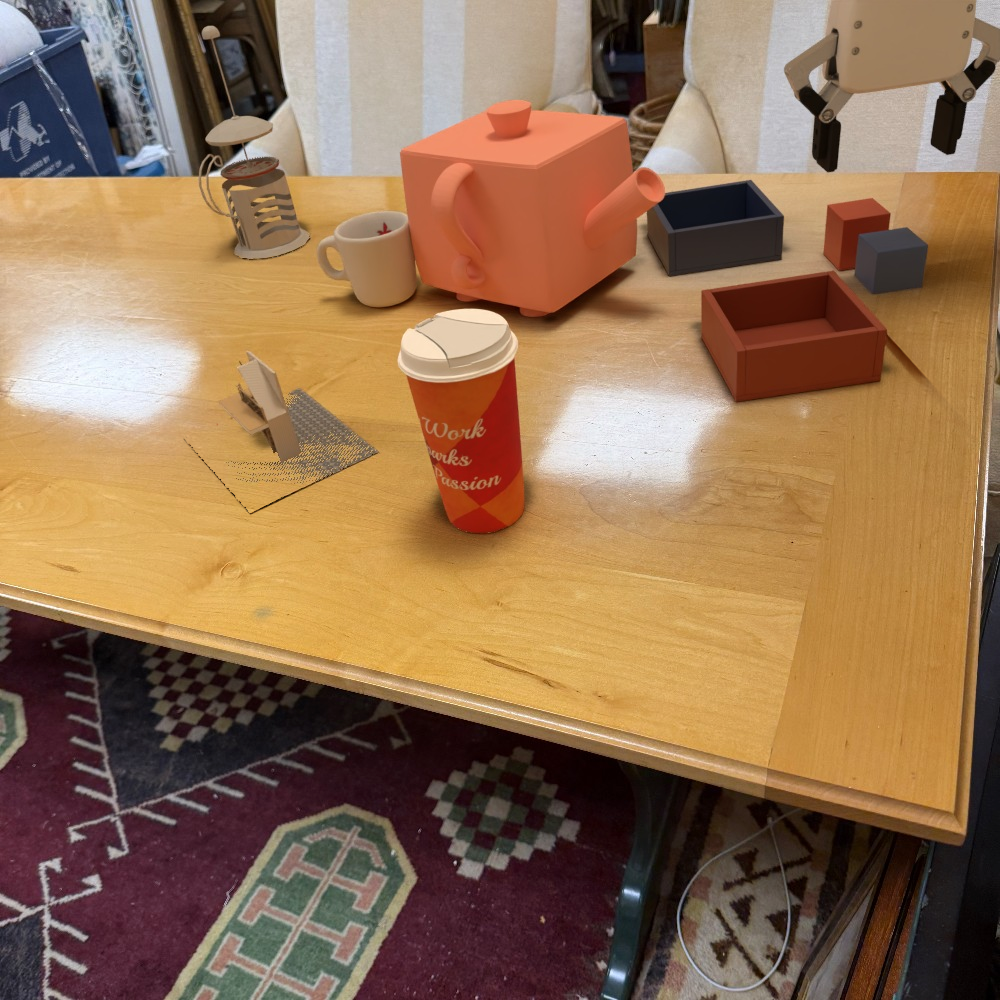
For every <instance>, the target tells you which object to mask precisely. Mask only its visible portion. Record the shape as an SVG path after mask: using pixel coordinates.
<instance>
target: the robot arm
mask: <svg viewBox="0 0 1000 1000" xmlns="http://www.w3.org/2000/svg"><path fill="white" fill-rule="evenodd" d="M976 10H977V0H831V1H830V6H829V12H828V18H827V23H826V31H825V37H823V38H822V39H821V40H819V41H817V42H816V43H815V44H813V45H812V46H810V47H808V48H807V49H805V50H804V51H803V52H801V53H800V54H799V55H796V57H794V58H792V60H790V61H788V62H787V63H786V64H785V65H784V67H783V72H784V75H785V77H786V80H787V81H788V84H789V86H790V88H791V90H792V92H793V95H794V97H795V99H796V100H797V101H798V102H799V103H800V104H801V105H802V106H803V107H804V108H805V109H806V110H807V111H808V112H809V113H810V114H812V115H813V131H812V142H811V143H812V144H811V156H812V158H813V160H814V161H816V164H817V165H818V166H819V167H821V169H823V170H824V171H825V172H826V173H833V172H836V170H838V165H839V154H840V143H841V133H842V123H841V121H840V120H838V119H837V116H838V114H839V113H840V112H841V110H842V109H843V108H844V107H845V105H846V104H847V103H848V102H849V101H850V100H851V98H852V97H853V96H854V95H857V94H868V93H875V92H882V91H889V90H896V89H903V88H909V87H917V86H922V85H929V84H936V83H939V85H940V86H941V87H942V89H943V90H944V92H943V94H939V95H938V98H937V99H936V101H935V102H936V103H935V109H934V115H933V121H932V129H931V136H930V141H929V142H930V145H931V147H933V148H935V149H936V150H938V151H939V152H941V153H942V154H945V155H946V156H950V155H955V154H956V152H957V144H958V140H960V139H961V138H962V135H963V130H964V125H965V118H966V112H967V106H968V103H970V102H971V101H973V100H974V99H975V97H976V95H977V91H978V90H979V89H980V88H981V87H982V86H983V85H984V84H985V83H986V82H987V80H989V79H990V78H991V77H992V75H993V74H994V73H995V71H996V66H997V64H998V63H999V62H1000V28H999V27H997V26H994V24H993V25H992V24H990V23H988V22H986V21H984V20H982V19H980V18H977V17H976ZM973 39H974V40H977V41H979V42H981V44H982V45H981V46H982V47H981V50H980V51H979V53H978V54H979V55H978V56H977V57H976V58H974V60H972V61H971V62H970V63H969V65H968V61H969V59H970V53H971V48H972V43H973V42H972V41H973ZM821 65H822V67H821V71H822V77H823V78H824V79H825V80H826V81H827V82H826V83H825V84H824V86H823V87H822V88H821V90H819V92H817V91H816V90H815V89H814V88H813V86H812V83H811V80H810V75H811V72H812V71H814V70H815V69H817V68H819V67H820V66H821ZM967 65H968V66H967Z"/></svg>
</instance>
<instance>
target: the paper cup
mask: <svg viewBox="0 0 1000 1000" xmlns="http://www.w3.org/2000/svg"><path fill="white" fill-rule="evenodd" d="M518 349H519V340H518V337H517V336H516V334H515V333H514V332H513V331H512V330H511V328H510V325H509V323H508V321H507V320H506V319H505V318H504V317H503V316H502V315H500V314H499V313H497V312H494V311H491V310H488V309H481V308H459V309H452V310H447V311H442V312H441V311H440V312H438V313H434V315H433V318H431V317H428V318H426V319H423V320H422V321H421V322H418V323H416V324H415V325H414V328H411V327H409V328H407V329H406V331H404V334H403V335H402V337H401V340H400V350H399V352H398V356H397V365H398V368H399V369H400V371H401V372H402V373H403V374H404V375H406V380H407V383H408V387H409V390H410V393H411V397H412V401H413V403H414V407H415V410H416V414H417V418H418V421H419V425H420V429H421V432H422V435H423V439H424V442H425V446H426V449H427V453H428V456H429V459H430V464H431V467H432V470H433V473H434V477H435V480H436V484H437V488H438V491H439V494H440V497H441V501H442V503H443V507H444V510H445V513H446V516H447V518H448V521H449V522H450V524H451V523H452V524H453V525H454V526H455V527H454V526H453V525H452V524H451V525H452V526H453V527H454V528H456V527H457V528H459V529H461V530H463V531H462V532H464V531H467V532H472V533H486V534H489V533H488V532H493V533H495V532H494V531H496V532H498V531H497V530H499V529H502V530H504V529H503V528H505V529H506V527H507V526H509V527H510V526H512V525H514V524H515V523H516V522H517V521H518V520H519V519H520V518H521V517H522V515H523V513H524V511H525V510H524V509H525V484H524V483H525V481H524V468H523V454H522V453H523V452H522V440H521V428H520V427H521V426H520V425H521V424H520V413H519V412H520V411H519V400H518V386H517V385H518V384H517V374H516V373H517V371H516V359H515V358H516V357H515V356H516V354H517V352H518ZM457 528H456V529H457ZM507 528H508V527H507ZM459 529H458V530H459ZM461 530H460V531H461ZM467 532H466V533H467ZM472 533H471V534H472Z"/></svg>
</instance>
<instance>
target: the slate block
mask: <svg viewBox="0 0 1000 1000" xmlns="http://www.w3.org/2000/svg"><path fill="white" fill-rule="evenodd" d="M928 250H929V244H928V243H927V242H926V241H925V240H923V239H922V238H921V237H920V236H918V234H916V233H915V232H914V231H912V229H910V228H909V227H907V226H905V227H899V228H892V229H889V230H885V231H879V232H872V233H865V234H859V236H858V246H857V255H856V265H855V268H854V277H855V278H856V279H857V280H858V281H859V282H860V283H861V284H862V285H863V286H864V287H865V288H866V289H867V291H868V292H869V293H870V294H871V295H872V296H873V295H880V294H885V293H886V294H888V293H894V292H900V291H906V290H914V289H920V288H923V284H924V275H925V270H926V264H927V258H928V252H929V251H928Z"/></svg>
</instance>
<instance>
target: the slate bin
mask: <svg viewBox="0 0 1000 1000" xmlns="http://www.w3.org/2000/svg"><path fill="white" fill-rule="evenodd" d="M784 224H785V215H784V214H783V213H782V212H781V211H780V210H779V208H778V207H776V205H775V204H774V203H773V202H772V201H771V200H770V199H769V197H767V195H766V194H765V193H764V192H763V191H762V189H760V188H759V187H758V185H757V184H756V183H755V182H754V181H753V180H752V179H747V180H741V181H734V182H726V183H721V184H713V185H708V186H702V187H695V188H689V189H688V188H687V189H683V190H675V191H668V192H665V196H664V198H663V199H662V200H661V201H660V202H659V203H658V204H656V205H655V206H653V207H652V208H651V209H649V210H648V211H647V212H646V229H647V231H646V232H647V238H648V240H649V241H650V243H651V245H652V247H653V249H654V250H655V253H656V255H657V256H658V258H659V260H660V262H661V264H662V265H663V267H664V269H665V271H666V273H667V275H668V277H673V276H680V275H687V274H694V273H699V272H707V271H714V270H719V269H727V268H734V267H740V266H746V265H753V264H759V263H765V262H774V261H779V260H782V259H783V244H784V243H783V242H784V226H785V225H784Z"/></svg>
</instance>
